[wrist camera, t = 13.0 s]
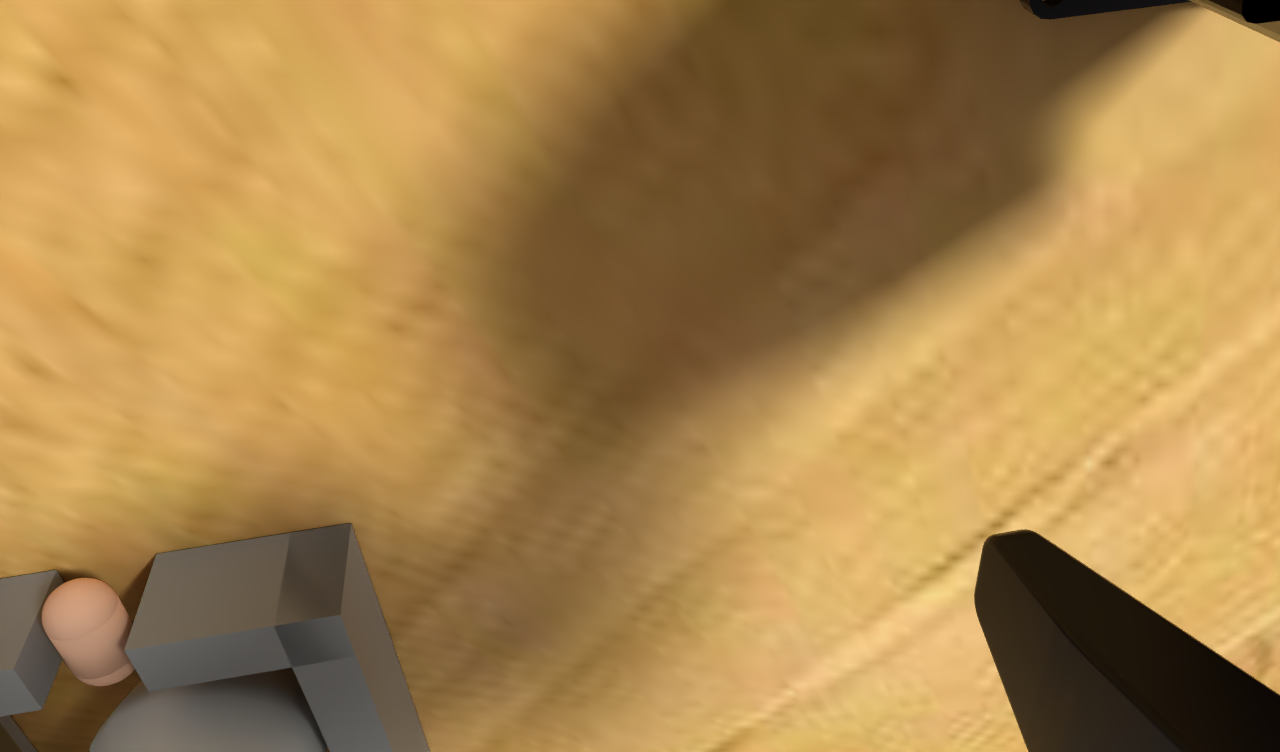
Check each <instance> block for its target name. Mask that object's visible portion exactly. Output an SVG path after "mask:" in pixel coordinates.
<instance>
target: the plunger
mask: <svg viewBox="0 0 1280 752" xmlns="http://www.w3.org/2000/svg"><path fill="white" fill-rule="evenodd" d="M42 625H43V628H44V630H45V632H46V634H47V636H48V637H49V639H50V640H51V642H52V643H53V645H54V646H55V648H56V649H57V651H58V652H59V654H60V655H61V657H62V658H63V660H64V661H65V663H66V664H67V666H68V667H69V669H70V670H71V672H72V673H73V674H74V675H75V676H76V678H77V679H79V680H81V681H82V682H84V683H86V684H89V685H93V686H108V685H112V684H115V683H118V682H120V681H122V680H123V679H125V678H126V677H128V676H129V675H130V674H131V673H132V672H133V671H134V670H135V668H134V666H133V665H132V663H131V661H130V660H129V658H128V656H127V655H126V653H125V651H124V650H125V647H126V644H127V641H128V638H129V635H130V632H131V629H132V626H133V622H132V620H131V618H130V616H129V615H128V613H127V611H126V609H125V608H124V606H123V604H122V603H121V601H120V599H119V597H118V596H117V594H116V592H115V591H114V590H113V589H112V588H111V587H110V586H109V585H108V584H106V583H104V582H103V581H100V580H97V579H94V578H78V579H73V580H70V581H68V582H65V583H63V584H62V585H60V586H59V587H57V588H56V589H55V590H54V591H53V592H52V593H51V594H50V595H49V596H48V598H47V600H46V602H45V604H44V606H43V609H42Z"/></svg>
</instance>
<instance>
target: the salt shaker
mask: <svg viewBox="0 0 1280 752" xmlns="http://www.w3.org/2000/svg"><path fill="white" fill-rule="evenodd" d="M89 752H327V744H326V742H325V739H324V737H323V735H322V733H321V731H320V728H319V726H318V724H317V722H316V719H315V717H314V715H313V713H312V711H311V708H310V706H309V704H308V702H307V699H306V697H305V695H304V693H303V690H302V688H301V686H300V684H299V682H298V679H297V677H296V675H295V673H294V670H293V668H286V669H280V670H274V671H268V672H262V673H256V674H250V675H244V676H239V677H233V678H227V679H221V680H215V681H209V682H203V683H197V684H191V685H185V686H179V687H174V688H168V689H162V690H156V691H150V692H149V691H148V690H147V688H146V686H145V685H144V683H143V681H142V680H141V681H140V682H139V683H138V684H137V685H136V686H135V687H134V688H133V689H132V691H131V692H130V693H129V694H128V695H127V696H126V697H125V698H124V699H123V700H122V702H121V703H120V704H119V705H118V706H117V708H116V709H115V710H114V711H113V713H112V714H111V715H110V716H109V717H108V719H107V720H106V721H105V722H104V723H103V725H102V726H101V727H100V728H99V730H98V732H97V734H96V736H95V738H94V740H93V742H92V743H91V745H90V750H89Z"/></svg>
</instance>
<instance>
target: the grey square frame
mask: <svg viewBox="0 0 1280 752" xmlns="http://www.w3.org/2000/svg"><path fill="white" fill-rule="evenodd" d="M63 583H64V581H63V579H62V578H61V576H60V574H59V573H58V571H57V570H53V571H46V572H40V573H34V574H27V575H21V576H15V577H9V578H2V579H0V722H1V724H2V725H3V726H4V727H5V729H6V730H7V731H8V733H9V734H10V735H11V737H12V738H13V739H14V740H15V742H16V743H17V744H18V746H19V747H20V748H21V749H22V751H23V752H37V751H36V749H35V748H34V747H33V745H32V744H31V743H30V741H29V740H28V739H27V737H26V736H25V735H24V733H23V732H22V731H21V729H20V728H19V727H18V725H17V724H16V723H15V722H14V720H13V719H12V718H11V716H10V715H14V714H20V713H26V712H32V711H38V710H42V709H43V707H44V704H45V702H46V699H47V697H48V694H49V692H50V689H51V687H52V684H53V681H54V679H55V676H56V674H57V671H58V669H59V666H60V664H61V661H62V659H63V658H62V657H61V655H60V654H59V652H58V651H57V649H56V648H55V646H54V645H53V643H52V642H51V640H50V639H49V637H48V636H47V634H46V632H45V630H44V628H43V625H42V609H43V606H44V604H45V602H46V600H47V598H48V596H49V595H50V594H51V593H52V592H53V591H54V590H55V589H56V588H57V587H59V586H60V585H62V584H63ZM124 651H125V653H126V655H127V656H128V658H129V660H130V661H131V663H132V665H133V666H134V668H135V670H136V671H137V673H138V675H139V676H140V678H141V680H142V681H143V683H144V685H145V686H146V688H147V690H148V691H149V692H150V691H156V690H162V689H168V688H174V687H179V686H185V685H191V684H197V683H203V682H209V681H215V680H221V679H227V678H233V677H239V676H244V675H250V674H256V673H262V672H268V671H274V670H280V669H286V668H293V670H294V673H295V675H296V677H297V679H298V682H299V684H300V686H301V688H302V690H303V693H304V695H305V697H306V699H307V702H308V704H309V706H310V708H311V711H312V713H313V715H314V717H315V719H316V722H317V724H318V726H319V728H320V731H321V733H322V735H323V737H324V739H325V742H326V744H327V746H328V748H329V751H330V752H430V750H429V747H428V744H427V741H426V738H425V735H424V732H423V729H422V727H421V724H420V721H419V718H418V715H417V712H416V709H415V706H414V703H413V701H412V698H411V695H410V692H409V689H408V686H407V683H406V680H405V677H404V674H403V672H402V669H401V666H400V663H399V660H398V657H397V654H396V651H395V648H394V646H393V643H392V640H391V637H390V634H389V631H388V628H387V625H386V622H385V619H384V617H383V614H382V611H381V608H380V605H379V602H378V599H377V596H376V593H375V590H374V588H373V585H372V582H371V579H370V576H369V573H368V570H367V567H366V564H365V562H364V559H363V556H362V553H361V550H360V547H359V544H358V541H357V538H356V535H355V533H354V530H353V527H352V524H351V523H348V524H342V525H336V526H329V527H323V528H317V529H311V530H304V531H298V532H292V533H285V534H279V535H273V536H267V537H260V538H254V539H248V540H241V541H235V542H229V543H222V544H216V545H210V546H204V547H197V548H191V549H185V550H178V551H172V552H166V553H160V554H156V557H155V560H154V563H153V566H152V569H151V572H150V575H149V578H148V581H147V584H146V587H145V590H144V593H143V596H142V599H141V602H140V605H139V608H138V611H137V614H136V617H135V620H134V623H133V626H132V629H131V632H130V635H129V638H128V641H127V644H126V647H125V650H124Z"/></svg>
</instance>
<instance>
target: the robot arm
mask: <svg viewBox="0 0 1280 752" xmlns="http://www.w3.org/2000/svg"><path fill="white" fill-rule="evenodd" d="M1020 1H1021V3H1022V5H1023V7H1024V8H1025V9H1026V10H1028V11H1029V12H1031V13H1032V14H1034V15H1036V16H1037V17H1039V18H1041V19H1057V18H1065V17H1073V16H1081V15H1089V14H1097V13H1105V12H1113V11H1120V10H1128V9H1136V8H1144V7H1152V6H1160V5H1168V4H1176V3H1184V2H1194V3H1196V4H1198V5H1200V6H1202V7H1205V8H1207V9H1209V10H1211V11H1213V12H1215V13H1218V14H1220V15H1222V16H1224V17H1226V18H1228V19H1231V20H1233V21H1235V22H1237V23H1239V24H1241V25H1244V26H1246V27H1248V28H1250V29H1252V30H1254V31H1257V32H1259V33H1261V34H1263V35H1265V36H1267V37H1270V38H1272V39H1274V40H1276V41H1278V42H1280V0H1044V1H1042V0H1020ZM974 599H975V608H976V612H977V616H978V619H979V622H980V625H981V627H982V630H983V633H984V635H985V638H986V641H987V643H988V646H989V649H990V651H991V654H992V657H993V659H994V662H995V665H996V667H997V670H998V673H999V675H1000V678H1001V681H1002V683H1003V686H1004V688H1005V691H1006V694H1007V696H1008V699H1009V702H1010V704H1011V707H1012V710H1013V712H1014V715H1015V718H1016V720H1017V723H1018V726H1019V728H1020V731H1021V734H1022V736H1023V739H1024V742H1025V744H1026V747H1027V749H1028V751H1029V752H1280V695H1279V694H1278V693H1276V692H1275V691H1273V690H1272V689H1270V688H1269V687H1267V686H1266V685H1264V684H1263V683H1261V682H1260V681H1258V680H1257V679H1255V678H1254V677H1252V676H1251V675H1249V674H1248V673H1246V672H1245V671H1243V670H1242V669H1240V668H1239V667H1237V666H1236V665H1234V664H1233V663H1231V662H1230V661H1228V660H1227V659H1225V658H1224V657H1222V656H1221V655H1219V654H1218V653H1216V652H1215V651H1213V650H1212V649H1210V648H1209V647H1207V646H1206V645H1204V644H1203V643H1201V642H1200V641H1198V640H1197V639H1195V638H1194V637H1192V636H1191V635H1189V634H1188V633H1186V632H1185V631H1183V630H1182V629H1180V628H1179V627H1177V626H1176V625H1174V624H1173V623H1171V622H1170V621H1168V620H1167V619H1165V618H1164V617H1162V616H1161V615H1159V614H1158V613H1156V612H1155V611H1153V610H1152V609H1150V608H1149V607H1147V606H1146V605H1144V604H1143V603H1141V602H1140V601H1138V600H1137V599H1135V598H1134V597H1132V596H1131V595H1129V594H1128V593H1126V592H1125V591H1123V590H1122V589H1121V588H1119V587H1118V586H1116V585H1115V584H1113V583H1112V582H1110V581H1109V580H1107V579H1106V578H1104V577H1103V576H1101V575H1100V574H1098V573H1097V572H1095V571H1094V570H1092V569H1091V568H1089V567H1088V566H1086V565H1085V564H1083V563H1082V562H1080V561H1079V560H1077V559H1076V558H1074V557H1073V556H1071V555H1070V554H1068V553H1067V552H1065V551H1064V550H1062V549H1061V548H1059V547H1058V546H1056V545H1055V544H1053V543H1052V542H1050V541H1049V540H1047V539H1046V538H1044V537H1043V536H1041V535H1040V534H1038V533H1036V532H1033V531H1031V530H1017V531H1011V532H1005V533H999V534H994V535H991V536H989V537H988V538H987V539H986V541H985V542H984V545H983V549H982V554H981V560H980V565H979V571H978V576H977V582H976V587H975V594H974ZM0 752H23V751H22V749H21V748H20V747H19V746H18V744H17V743H16V742H15V740H14V739H13V738H12V737H11V735H10V734H9V733H8V731H7V730H6V729H5V727H4V726H3V725H2V724H1V722H0Z"/></svg>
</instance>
